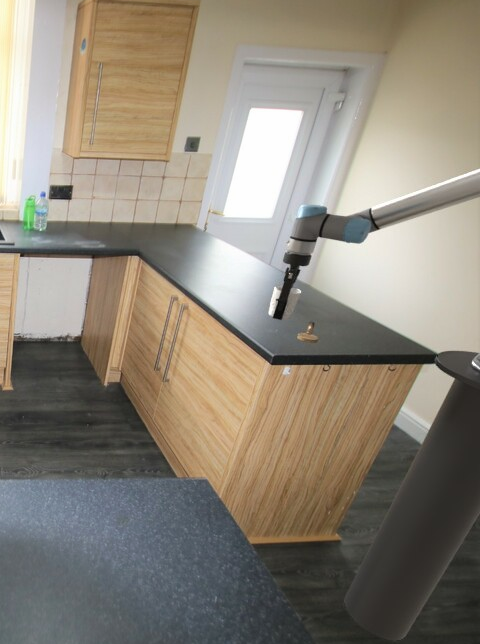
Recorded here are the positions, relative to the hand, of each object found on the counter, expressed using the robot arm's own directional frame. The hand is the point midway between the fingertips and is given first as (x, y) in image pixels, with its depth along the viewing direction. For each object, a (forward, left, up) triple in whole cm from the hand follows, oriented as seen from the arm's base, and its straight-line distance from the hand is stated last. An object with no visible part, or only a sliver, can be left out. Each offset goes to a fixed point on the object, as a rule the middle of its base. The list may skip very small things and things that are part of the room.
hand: (278, 315), depth 166 cm
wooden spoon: (-8, -6, -4) cm, 11 cm away
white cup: (0, 0, 0) cm, 0 cm away
